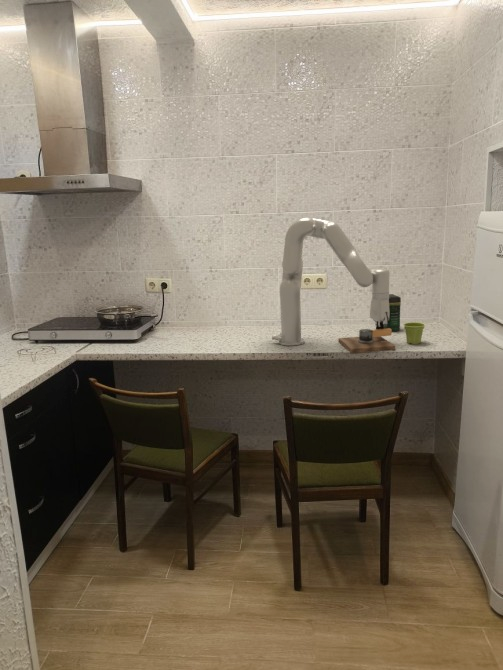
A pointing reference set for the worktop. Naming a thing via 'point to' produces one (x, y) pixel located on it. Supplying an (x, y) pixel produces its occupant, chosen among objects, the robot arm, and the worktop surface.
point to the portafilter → (373, 333)
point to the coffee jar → (394, 313)
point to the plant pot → (414, 332)
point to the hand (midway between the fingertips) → (379, 334)
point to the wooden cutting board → (366, 344)
